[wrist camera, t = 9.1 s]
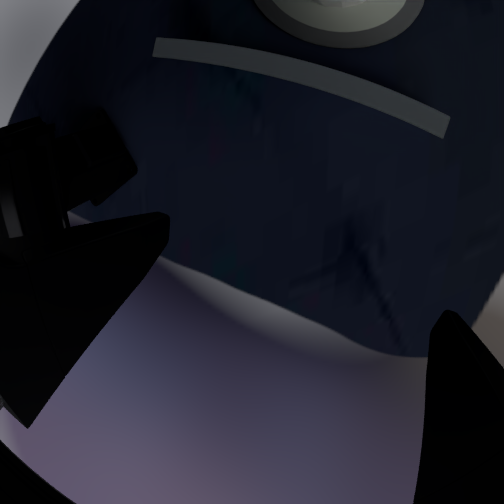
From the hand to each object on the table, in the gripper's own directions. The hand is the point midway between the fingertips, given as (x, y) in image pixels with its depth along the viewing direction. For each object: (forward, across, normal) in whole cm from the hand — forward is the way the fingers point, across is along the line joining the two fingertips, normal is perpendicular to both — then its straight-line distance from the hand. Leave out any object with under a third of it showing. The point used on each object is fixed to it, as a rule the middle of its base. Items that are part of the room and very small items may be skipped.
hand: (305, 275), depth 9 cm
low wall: (+12, +3, -6) cm, 14 cm away
